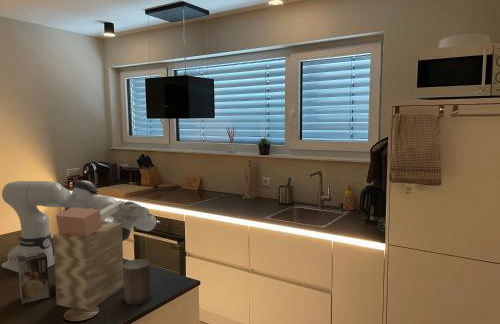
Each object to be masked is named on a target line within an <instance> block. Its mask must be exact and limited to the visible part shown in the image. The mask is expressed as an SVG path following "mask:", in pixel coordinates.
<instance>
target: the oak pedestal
mask: <svg viewBox="0 0 500 324" xmlns="http://www.w3.org/2000/svg"><path fill="white" fill-rule="evenodd" d="M101 223H102V228H101V229H99V230H98V231H96V232H94V233H93V234H91V235H90V236H88V237H82V236H74V235H65V234H59V232H57V233H54V234H52V235H53V236H52V237H53V239H52V240H53V256H54V261H55V264H54V277H55V280H54V281H55V297H56V306H62V307H67V308H73V309H77V308H78V310H82V309H86V310H85V311H88V310H89V311H91V310H92V309H94V308H95V307H96V306H99V305H100V304H101V303H102V302H104V301H106V300H107V299H108V298H110V297H111V296H113V295H114V294H116V293H117V292H118V291H120V290H122V289H124V273H123V264H124V252H123V251H124V250H123V249H124V245H123V242H124V241H122V224H120V223H110V222H101ZM90 309H91V310H90Z"/></svg>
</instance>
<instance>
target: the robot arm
mask: <svg viewBox="0 0 500 324" xmlns="http://www.w3.org/2000/svg"><path fill="white" fill-rule="evenodd" d="M98 193H99V191H98V188H97V187H96V185H95V184H93V183H92V182H91V181H89V180H78V181H76V183H75V184H74V186H73V189H72V192H71V191H70V190H69V189H68V188H66V187H64V186H63V185H62V184H61V183H60V182H54V181H49V180H45V181H44V180H41V181H40V180H18V181H12V182H8V183H6V184H5V185H4V186H3V188H2V190H1V196H2V197H1V198H2V200H3V201H4V202H5V204H7V205H9V206H10V207H11V208H12V209H13V210H14V211H15V213H16V214H17V217H18V219H19V222H20V229H21V230H20V231H21V235H20V237H17V238H16V239H17V241H19V242H18V244H17V245H16V246H15V247H14V248H13V249H11V250H10V251H9V252H8V254H7V261H5V262H3V263H2V264H1V267H2V268H4V269H6V270H10V271H13V272H16V273H18V274H19V268H18V257H19V256H25V255H30V254H36V253H42V252H44V253H45V254H46V256H47V263H48V268H49V267H52V266H53V265H55V261H54V250H53V248H52V247H53V245H52V243H51V242H52V233H51V231H50V218H49V217H48V216H49V215H47V214H46V213H44V212H42V211H40V209H39V208H38V207H39V206H41V207H46V208H63V210H62V212H64V211H66V210H68V209H70V208H72V207H75V208H85V209H96V210H102V209H104V208H106V207H108V206H109V205H111V204H113V203H115V202H117V201H118V200H116V199H115V198H113V197H111V196H106V195H98ZM124 202H125V205H124V204H120V206H119V208H121V209H120V210H119V211H117V212H115V213H114V214H112V215H110V216H109V217H107V218H105V219H104V220H102V221H101V222H110V223H120V224H122V242H124V241H126V240H128V239H129V237H130V236H131V232H132V230H133V228H134V227H135V228H136V229H138V230H141V231H145V232H150V231H152V230H153V229H154V228H155V227H156V224H157V218H156V217H155V216H154V215H153V213H151V212H150V210H149V209H148V208H146V206H142V205H140V204H138V203H136V202H135V201H134V202H133V201H130V200H128V201H124Z"/></svg>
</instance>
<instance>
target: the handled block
mask: <svg viewBox="0 0 500 324" xmlns="http://www.w3.org/2000/svg"><path fill="white" fill-rule="evenodd" d="M116 201H117V202H115V203H113V204H111V205H109V206H108V207H106V208H104V209H102V210H96V209H91V208H90V209H85V208H75V207H72V208H70V209H68V210H66V211H64V212H63V211H62V212H59V213H58V214H56V215H55V219H56V224H57V228H58V229H57V230H58V233H59V234H65V235H74V236H82V237H88V236H90V235H91V234H93V233H94V232H96V231H98V230H99V229H101V228H102V223H101V221H102V220H104V219H105V218H107V217H109V216H110V215H112V214H114V213H115V212H117V211H119V210H120V209H121V208H119V206H120V204H124V205H125V202H126V201H125V200H116Z"/></svg>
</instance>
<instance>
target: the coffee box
mask: <svg viewBox="0 0 500 324" xmlns="http://www.w3.org/2000/svg"><path fill="white" fill-rule="evenodd" d="M18 268H19V273H18V278H19V279H18V281H19V293H20V294H19V295H20V300H21V301H20V302H21V304H23V305H24V304H28V303H31V302H36V301H39V300H43V299H47V298H50V297H51V295H50V282H49V281H50V280H49V267H48V263H47V256H46V254H45V253H44V252H42V253H36V254H30V255H25V256H19V257H18Z"/></svg>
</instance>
